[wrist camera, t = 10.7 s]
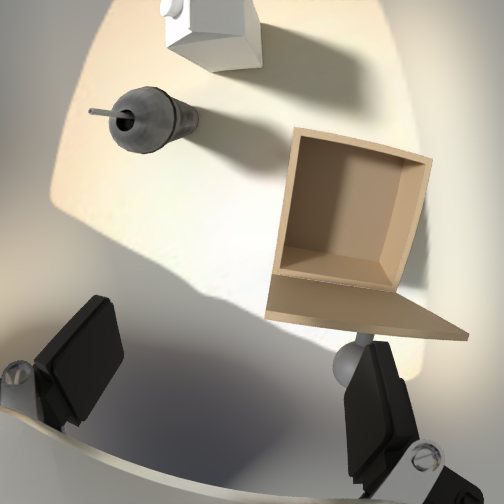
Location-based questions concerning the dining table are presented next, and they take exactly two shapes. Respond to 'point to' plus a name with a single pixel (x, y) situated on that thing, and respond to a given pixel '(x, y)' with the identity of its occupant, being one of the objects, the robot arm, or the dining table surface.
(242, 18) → the milk carton
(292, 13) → the dining table surface
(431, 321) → the flap
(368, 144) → the light brown open box
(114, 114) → the beverage cup
